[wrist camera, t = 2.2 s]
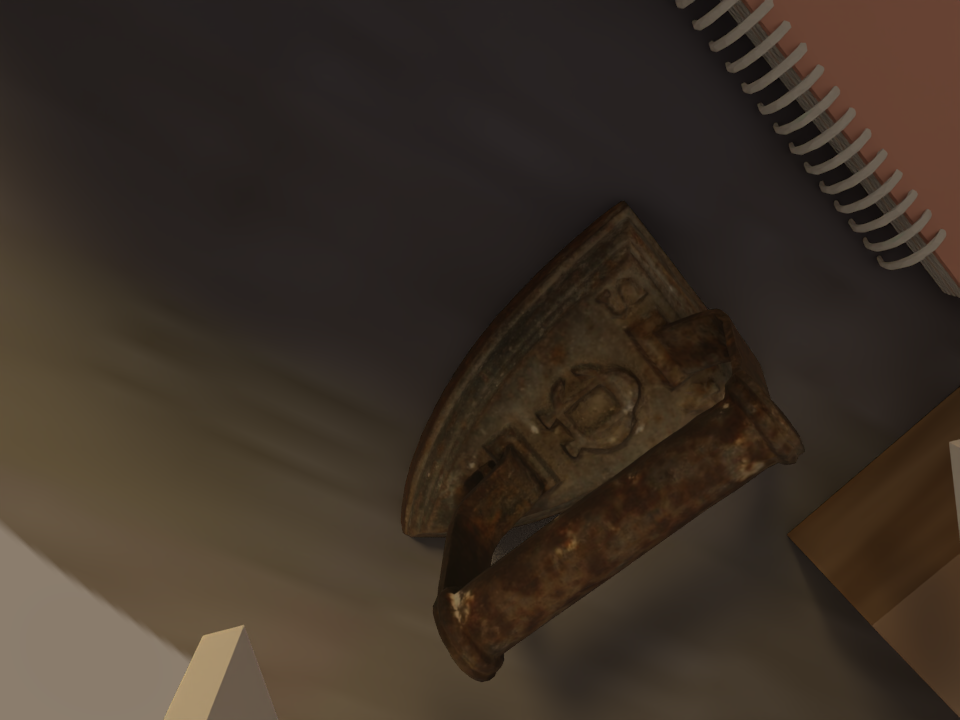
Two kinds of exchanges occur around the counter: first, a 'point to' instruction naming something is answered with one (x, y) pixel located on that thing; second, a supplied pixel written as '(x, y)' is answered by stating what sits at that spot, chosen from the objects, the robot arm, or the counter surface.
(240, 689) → the robot arm
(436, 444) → the clothes iron
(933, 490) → the walnut stand
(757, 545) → the counter surface
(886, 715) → the counter surface
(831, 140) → the notebook
